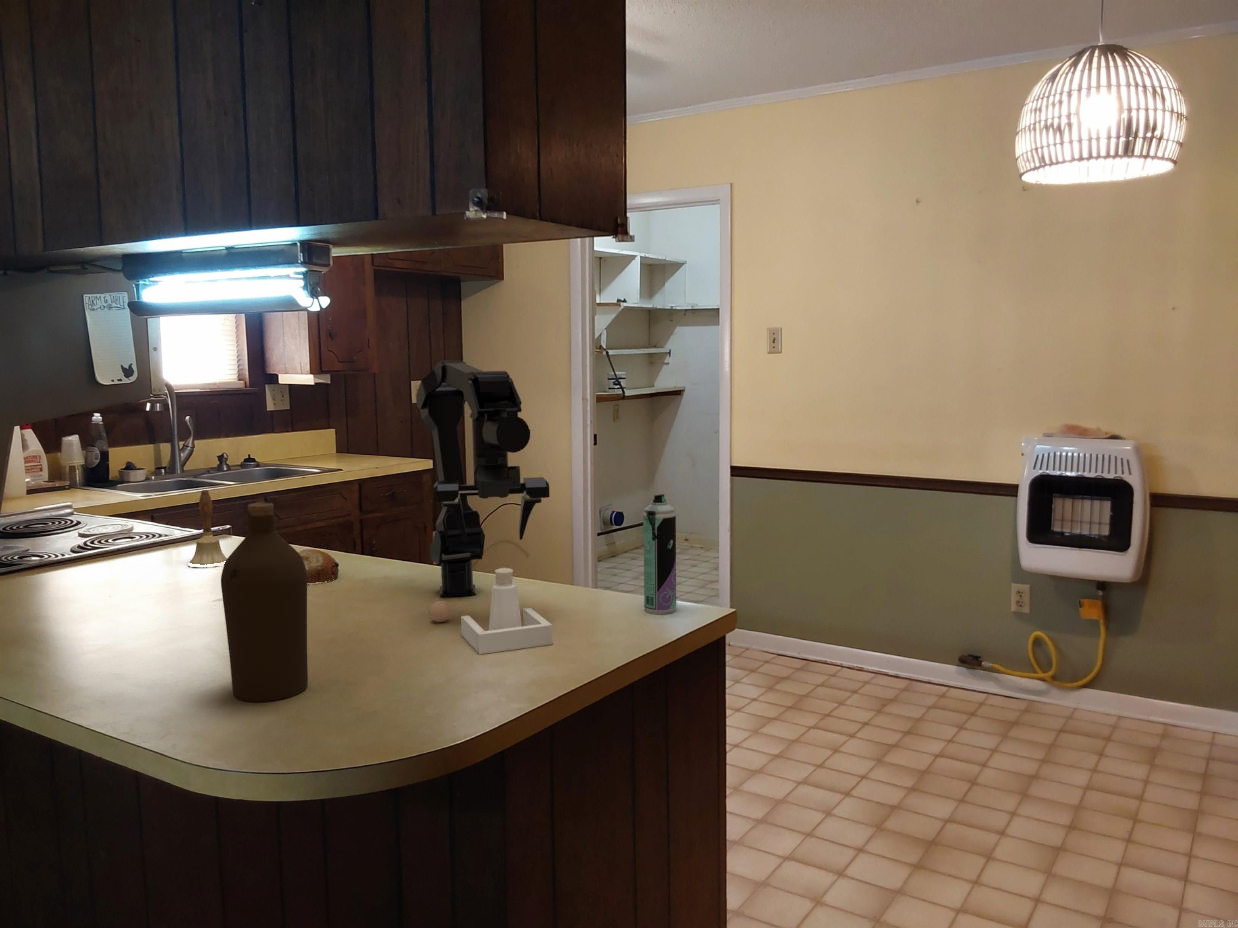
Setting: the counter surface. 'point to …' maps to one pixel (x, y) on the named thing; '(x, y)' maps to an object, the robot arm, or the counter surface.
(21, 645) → the counter surface
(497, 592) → the pepper shaker
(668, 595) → the spray can
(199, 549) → the wooden handled brush
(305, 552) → the bread roll
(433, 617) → the ball
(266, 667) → the dark brown bottle
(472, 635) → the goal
